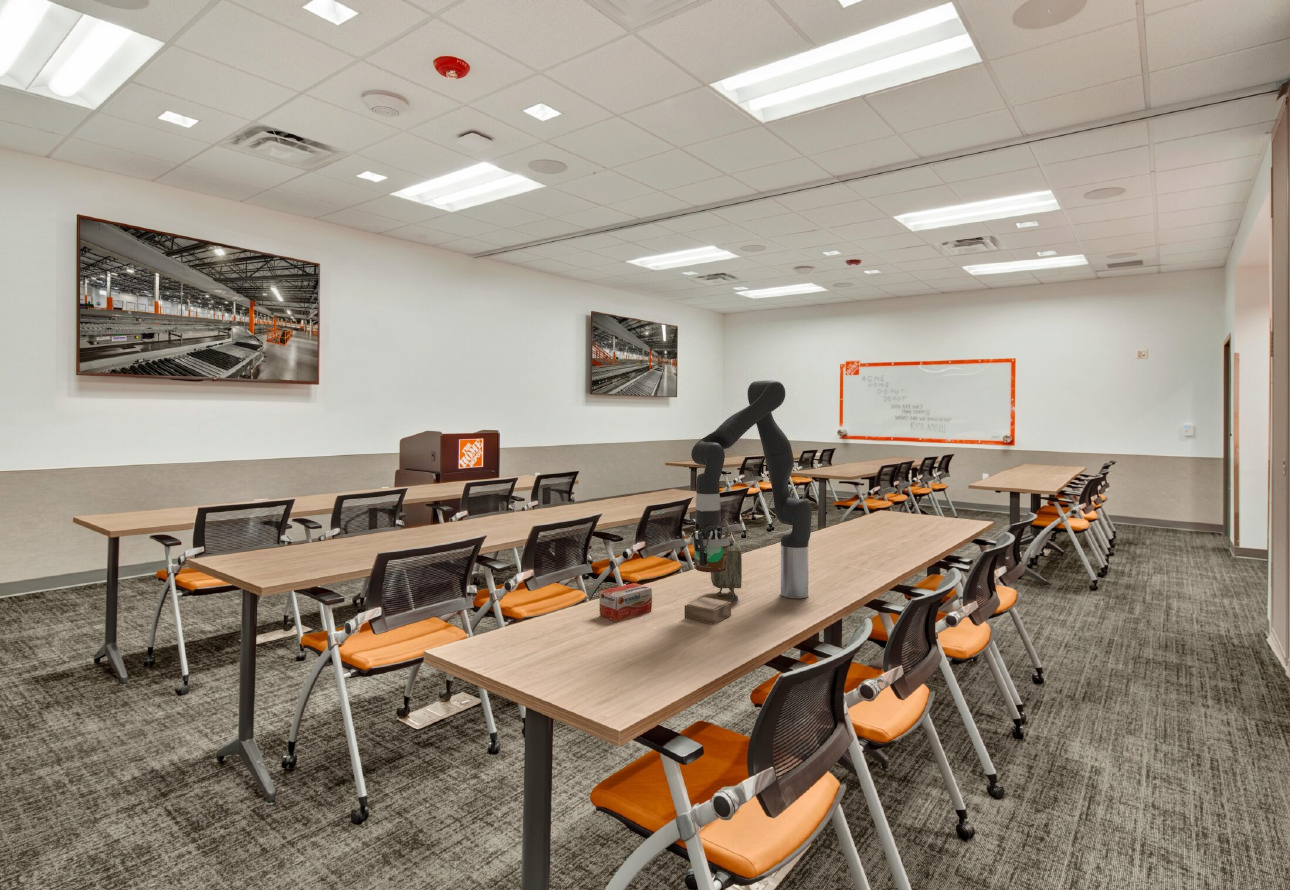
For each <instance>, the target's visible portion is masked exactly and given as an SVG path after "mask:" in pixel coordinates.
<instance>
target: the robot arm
mask: <svg viewBox="0 0 1290 890" xmlns="http://www.w3.org/2000/svg"><path fill="white" fill-rule="evenodd" d="M785 399H786V389H785V386H784V384H783V383H782V382H780V381H779V380H772V379H770V380H768V379H767V380H756V381H752V382H751V383H750V385H749V386H748V388H747V400H748V401H747V402H748V404H749V405H748V406H746V407H744V408H743V409H741V410H739V411H737V412H736V413H734V414H733V415H732V414H731V415H730V416H729V417H728V418H727V419H725V420H724V421H723V422H722V423H721V424H720V425H719V426H718V427H717V428H716V429H715V430H714V431H713V432H711V433H709V434H707V435H706V436H705V437H703V438H701V439H700V440H698V441H697V442H696V443H695V444H694V446H693V447H692V449H691V459H692V461H693V462H694V464H697V465H700V466H705V467H704V472H703V473H700V474H698V475H697V476H696V482H695V483H696V484H695V485H696V487H695V490H696V495H695V523H696V524H697V525H698V531H697V532H694V531H693V535H692V538H694V546H693V548H694V547H695V551H697V552H699V554H700V565H703V566H705V565H707V547H706V546H705V547H704V546H703V539H706V540H707V542H709V540H719V539H722V537H723V536H722V535H723V527H721V526H718V525H720V524H721V496H720V485H721V484H720V482H721V481H720V479H721V476H722V473H723V472H722V471H723V469H724V464H725V459H726V458H725V457H726V455H725V454H726V453H725V450H726V449H730V448H732V447H733V445H735V443H736V442H737V441H739V439H741V437H742V436H744V435H745V433H747V432H748V431H749V430H750V429H751V428H752V427H753V426H755V425H756V428H757V432H758V435H759V438H760V442H761V446H762V451H763V456H764V460H765V463H766V466H767V467H766V468H767V471H768V474H769V476H768V477H769V480H770V485H771V491H772V497H773V504H774V505H773V506H774V513H775V517H776V518H777V520H778V521H779V522H780V524H783V525H789V526H792V527H791V532H790V533H787V534H783V535H782V536H781V538H780V596H782V597H784V598H787V599H805V598H807V597H809V541H810V538H811V531H812V530H811V529H812V506H811V504H810V503H809V501H808V500H806V499H803V498H793V497H791V493H790V489H789V481H790V478H791V477H790V476H791V475H792V472H793V469H794V465H795V460H794V459H795V458H794V454H793V450H792V445H791V442H790V440H789V438H788V436H787V435H786V434H785V433H784V431H783V430H782V429H781V428H780V426H779V425H778V424H777V423H776V421H775V419H774V417H773V413H772V412H774V411H775V410H776V409H778V408H779V407H780V406H781V405H782V404H783V403H784V401H785ZM698 545H700V546H699V548H698ZM707 545H708V543H707Z"/></svg>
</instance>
